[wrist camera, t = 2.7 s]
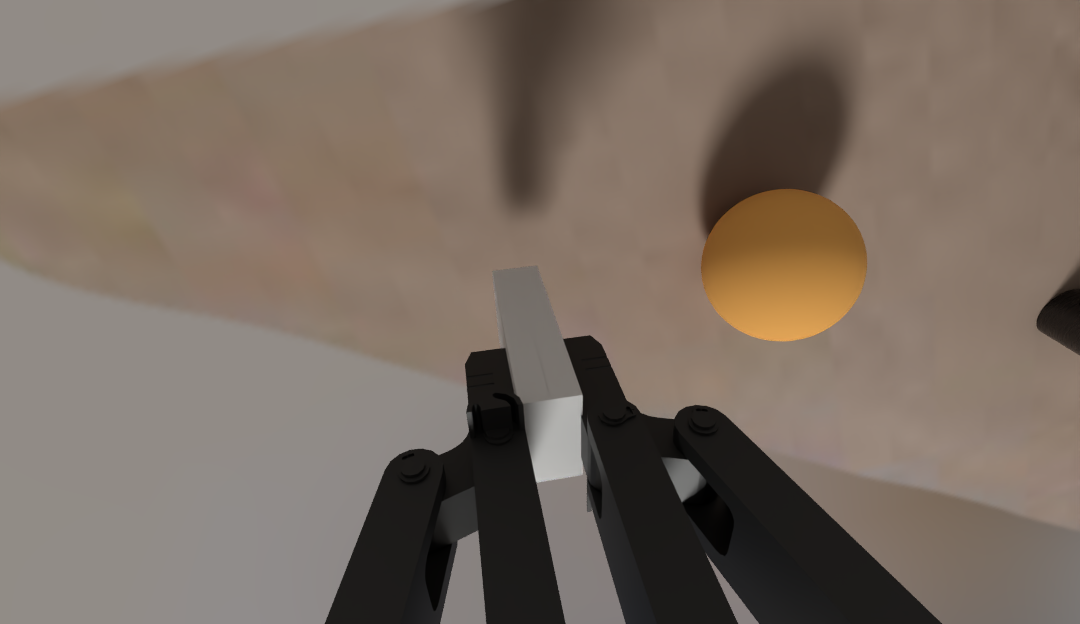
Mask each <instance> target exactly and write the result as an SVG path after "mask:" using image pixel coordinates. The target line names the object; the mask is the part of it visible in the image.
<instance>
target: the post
mask: <svg viewBox="0 0 1080 624" xmlns="http://www.w3.org/2000/svg"><path fill="white" fill-rule="evenodd" d="M1037 328H1038V330H1039V331H1041V332H1042V333H1044V334H1046V335H1047V336H1049V337H1050V338H1052V339H1054V340H1055V341H1057V342H1059V343H1060V344H1062V345H1064V346H1065V347H1067V348H1068V349H1070V350H1072V351H1073V352H1075V353H1077V354H1078V355H1080V290H1079V289H1076V290H1071V291H1068V292H1065V293H1063V294H1061V295H1059V296H1058V297H1056V298H1055V299H1053V300H1052V301H1051V302H1050V303H1049V304H1048V305H1047V306H1046V307H1045V308H1044V309H1043V310H1042V312H1041V313H1040V315H1039V317H1038V320H1037Z"/></svg>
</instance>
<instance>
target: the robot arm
mask: <svg viewBox="0 0 1080 624" xmlns="http://www.w3.org/2000/svg"><path fill="white" fill-rule="evenodd" d="M492 275H493V285H494V295H495V304H496V314H497V324H498V334H499V341H500V347H501V349H493V350H486V351H478V352H471V354H470V356H469V358H468V360H467V362H466V363H465V369H466V381H467V393H468V406H467V412H466V414H467V420H468V426H469V433H468V435H467V437H466V438H465V439H464V441H463V442H462V443H461V444H460V445H458V446H457V447H455V448H453V449H452V450H450V451H448V452H445V453H443V454H441V455H437V454H436V453H434V452H433V451H431V450H425V449H414V450H409V451H407V452H404V453H402V454H399V455H398V456H397V457H396V458H394V459H393V460H392V461H390V463H389V465H388V466H387V468H386V469H385V471H384V474H383V476H382V479H381V482H380V484H379V487H378V489H377V492H376V494H375V497H374V499H373V502H372V504H371V507H370V510H369V512H368V515H367V517H366V520H365V522H364V525H363V527H362V530H361V533H360V535H359V538H358V541H357V543H356V546H355V548H354V550H353V553H352V556H351V558H350V561H349V563H348V566H347V569H346V571H345V574H344V576H343V579H342V581H341V584H340V587H339V589H338V591H337V594H336V597H335V599H334V602H333V604H332V607H331V609H330V612H329V615H328V617H327V620H326V622H325V624H440V621H441V617H442V612H443V608H444V603H445V598H446V594H447V589H448V585H449V580H450V576H451V571H452V567H453V562H454V557H455V553H456V548H457V540H459V539H461V538H463V537H465V536H467V535H469V534H471V533H473V532H476V531H477V530H478V531H479V544H480V555H481V567H482V577H483V589H484V600H485V612H486V623H487V624H565V620H564V614H563V610H562V605H561V600H560V595H559V590H558V585H557V580H556V576H555V571H554V567H553V561H552V557H551V552H550V547H549V542H548V537H547V532H546V527H545V523H544V518H543V513H542V508H541V504H540V499H539V494H538V489H537V484H536V483H537V482H543V481H549V480H555V479H561V478H567V477H573V476H579V475H583V465H584V468H585V472H586V475H587V512H590V511H592V510H593V513H594V517H595V520H596V523H597V527H598V530H599V534H600V537H601V540H602V544H603V547H604V551H605V554H606V558H607V561H608V564H609V567H610V571H611V575H612V578H613V581H614V585H615V588H616V592H617V595H618V598H619V602H620V605H621V609H622V612H623V616H624V619H625V622H626V624H738V623H737V620H736V618H735V616H734V614H733V612H732V610H731V607H730V605H729V603H728V601H727V599H726V597H725V594H724V592H723V590H722V588H721V586H720V584H719V582H718V579H717V577H716V575H715V573H714V571H713V569H712V566H711V564H710V562H709V560H708V558H707V556H708V557H709V558H710V559H711V561H712V562H713V563H714V565H715V566H716V567H717V569H718V570H719V571H720V573H721V574H722V575H723V577H724V578H725V579H726V581H727V582H728V583H729V584H730V586H731V587H732V588H733V590H734V591H735V592H736V594H737V595H738V596H739V598H740V599H741V600H742V602H743V603H744V604H745V605H746V607H747V608H748V609H749V611H750V612H751V613H752V615H753V616H754V617H755V619H756V620H757V621H758V622H759V624H942V623H941V622H940V621H939V620H938V619H937V618H936V617H934V616H933V615H932V614H931V613H930V612H929V611H928V610H927V609H926V608H925V607H924V606H923V605H922V604H921V603H920V602H919V601H918V600H917V599H916V598H915V597H914V596H913V595H912V594H911V593H910V592H909V591H907V590H906V589H905V588H904V587H903V586H902V585H901V584H900V583H899V582H898V581H897V580H896V579H895V578H894V577H893V576H892V575H891V574H890V573H889V572H888V571H887V570H886V569H885V568H884V567H882V566H881V565H880V564H879V563H878V562H877V561H876V560H875V559H874V558H873V557H872V556H871V555H870V554H869V553H868V552H867V551H866V550H865V549H864V548H863V547H862V546H861V545H859V544H858V543H857V542H856V541H855V540H854V539H853V538H852V537H851V536H850V535H849V534H848V533H847V532H846V531H845V530H844V529H843V528H842V527H841V526H840V525H839V524H838V523H837V522H836V521H835V520H834V519H832V518H831V517H830V516H829V515H828V514H827V513H826V512H825V511H824V510H823V509H822V508H821V507H820V506H819V505H818V504H817V503H816V502H815V501H814V500H813V499H812V498H811V497H810V496H809V495H808V494H806V492H804V491H803V490H802V489H801V488H800V487H799V486H798V485H797V484H796V483H795V482H794V481H793V480H792V479H791V478H790V477H789V476H788V475H787V474H786V473H785V472H784V471H783V470H781V468H779V467H778V466H777V465H776V464H775V463H774V462H773V461H772V460H771V459H770V458H769V457H768V456H767V455H766V454H765V453H764V452H763V451H762V450H761V449H760V448H759V447H758V446H757V445H756V444H755V443H753V442H752V441H751V440H750V439H749V438H748V437H747V436H746V435H745V434H744V433H743V432H742V431H741V430H740V429H739V428H738V427H737V426H736V425H735V424H734V423H733V422H732V421H731V420H730V419H729V418H727V417H726V416H725V415H724V414H722V413H721V412H720V411H718V410H716V409H714V408H711V407H708V406H700V405H694V406H689V407H685V408H684V409H682V410H680V411H679V412H678V413H677V415H676V417H675V419H666V418H657V417H651V416H647V415H645V414H642V413H640V411H639V410H638V409H637V408H636V406H635V405H633V404H631V403H630V402H628V401H627V400H626V398H625V396H624V393H623V391H622V389H621V387H620V385H619V382H618V380H617V378H616V376H615V373H614V371H613V369H612V367H611V364H610V362H609V360H608V358H607V356H606V353H605V351H604V349H603V347H602V345H601V344H600V343H599V342H598V341H597V340H595V339H594V338H593V337H592V336H590V335H589V336H582V337H574V338H567V339H563V338H562V335H561V332H560V329H559V326H558V324H557V321H556V318H555V315H554V312H553V309H552V307H551V304H550V301H549V298H548V295H547V292H546V290H545V287H544V284H543V281H542V278H541V275H540V273H539V270H538V267H537V266H529V267H521V268H512V269H504V270H495V271H492ZM591 509H592V510H591ZM706 554H707V556H706Z"/></svg>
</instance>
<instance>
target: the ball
mask: <svg viewBox="0 0 1080 624" xmlns="http://www.w3.org/2000/svg"><path fill="white" fill-rule="evenodd" d="M866 271H867V253H866V248H865V244H864V241H863V238H862V235H861V233H860V231H859V229H858V227H857V226H856V224H855V223H854V221H853V220H852V219H851V218H850V216H849V215H848V214H847V213H846V212H845V211H844V210H843V209H842V208H840V207H839V206H838V205H836V204H835V203H833V202H832V201H831V200H829V199H827V198H824V197H822V196H820V195H818V194H815V193H811V192H808V191H804V190H797V189H776V190H770V191H766V192H762V193H758V194H755V195H753V196H751V197H748V198H746V199H745V200H743V201H741V202H739V203H738V204H736V205H735V206H733V207H732V208H731V209H730V210H728V211H727V212H726V213H725V214H724V215H723V216H722V217H721V218H720V219H719V221H718V222H717V223H716V225H715V226H714V228H713V229H712V231H711V233H710V234H709V236H708V239H707V241H706V243H705V246H704V250H703V255H702V262H701V273H702V281H703V285H704V289H705V291H706V294H707V296H708V299H709V301H710V302H711V304H712V305H713V307H714V308H715V310H716V311H717V312H718V313H719V315H720V316H721V317H722V318H723V319H724V320H725V321H726V322H728V323H729V324H730V325H732V326H733V327H735V328H736V329H737V330H739V331H741V332H743V333H745V334H748V335H750V336H753V337H756V338H760V339H764V340H770V341H793V340H798V339H803V338H807V337H810V336H813V335H816V334H818V333H820V332H822V331H824V330H826V329H827V328H829V327H831V326H832V325H834V324H835V323H836V322H838V321H839V320H840V319H841V318H842V317H843V316H844V315H845V314H846V313H847V312H848V311H849V310H850V308H851V307H852V306H853V305H854V303H855V301H856V300H857V298H858V296H859V294H860V293H861V290H862V287H863V284H864V281H865V277H866Z"/></svg>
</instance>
